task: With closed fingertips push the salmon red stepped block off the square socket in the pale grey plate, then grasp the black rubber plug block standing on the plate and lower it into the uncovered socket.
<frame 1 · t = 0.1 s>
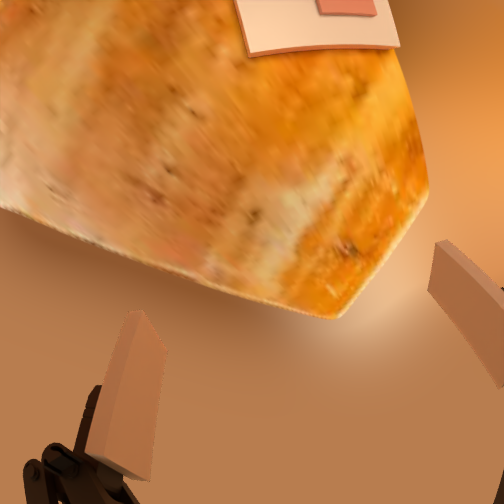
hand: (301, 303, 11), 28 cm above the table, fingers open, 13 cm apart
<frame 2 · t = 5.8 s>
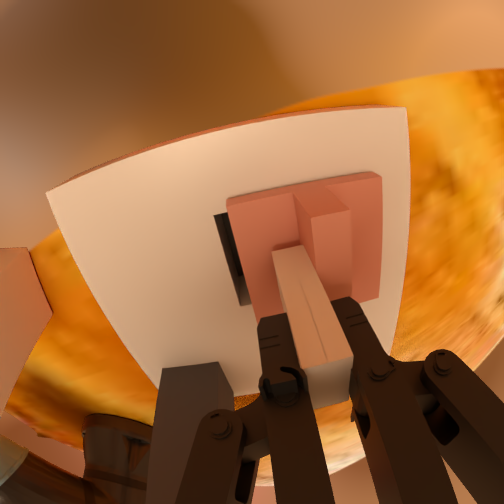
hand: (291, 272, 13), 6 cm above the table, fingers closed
plug: (199, 381, 20), point 3 cm above the table, touching socket plate
salmon red stepped block: (322, 270, 13), point 6 cm above the table, slide at 1.6 cm, touching gripper
milk carton: (17, 279, 19), on the table
socket plate: (252, 271, 20), on the table
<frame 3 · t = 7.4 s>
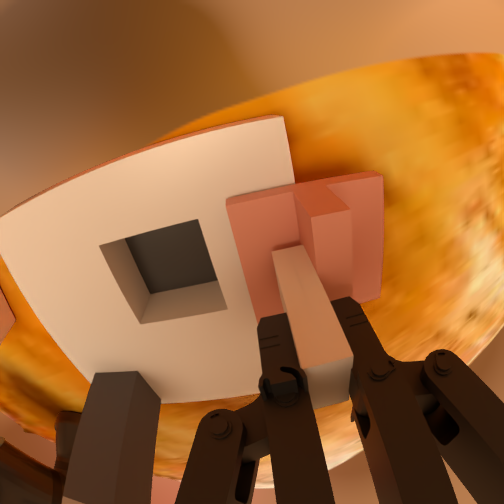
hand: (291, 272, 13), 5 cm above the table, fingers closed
plug: (128, 387, 20), point 3 cm above the table, touching socket plate
salmon red stepped block: (323, 270, 13), point 6 cm above the table, slide at 8.4 cm, touching gripper
socket plate: (162, 290, 20), on the table
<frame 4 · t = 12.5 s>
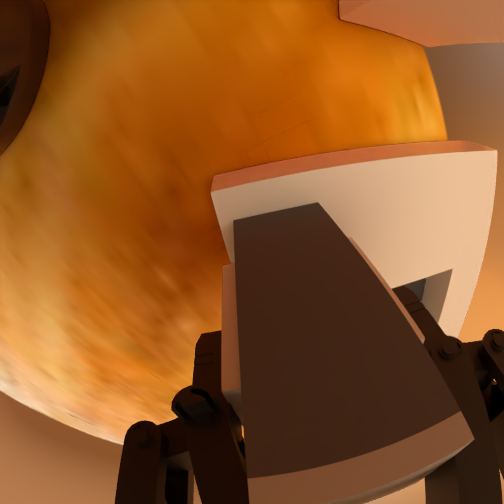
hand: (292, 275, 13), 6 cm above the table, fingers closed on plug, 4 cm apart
plug: (283, 248, 15), point 4 cm above the table, touching gripper, socket plate
socket plate: (370, 272, 21), on the table
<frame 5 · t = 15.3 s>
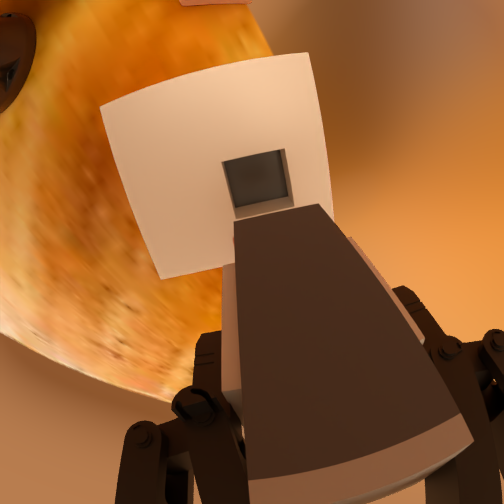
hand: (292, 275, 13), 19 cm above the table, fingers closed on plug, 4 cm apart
plug: (283, 249, 15), point 16 cm above the table, touching gripper
salmon red stepped block: (277, 270, 28), point 6 cm above the table, slide at 8.4 cm
socket plate: (224, 164, 28), on the table
when the fingers open (5 cm above the table, at t = 18.4 s): plug drops 2 cm, resting on socket plate.
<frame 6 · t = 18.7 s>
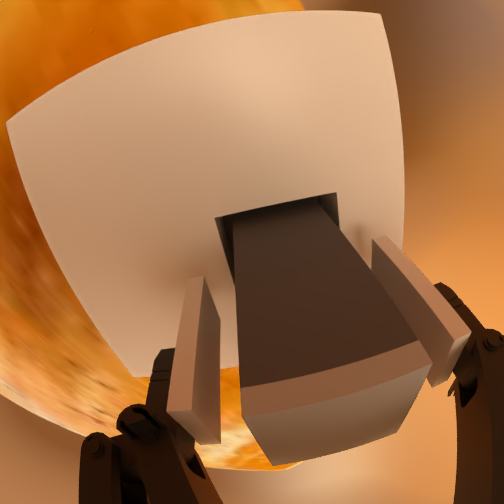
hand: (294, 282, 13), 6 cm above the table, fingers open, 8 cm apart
plug: (276, 231, 17), resting on socket plate
socket plate: (221, 210, 17), on the table
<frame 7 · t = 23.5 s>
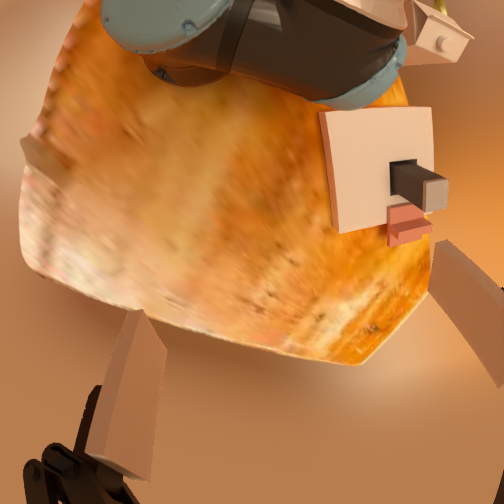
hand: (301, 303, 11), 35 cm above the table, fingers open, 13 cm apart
plug: (394, 172, 44), resting on socket plate
salmon red stepped block: (410, 227, 43), point 6 cm above the table, slide at 8.4 cm
milk carton: (380, 44, 33), on the table
socket plate: (379, 163, 43), on the table
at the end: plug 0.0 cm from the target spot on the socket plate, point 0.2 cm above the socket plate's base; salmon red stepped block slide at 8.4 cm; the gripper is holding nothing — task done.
